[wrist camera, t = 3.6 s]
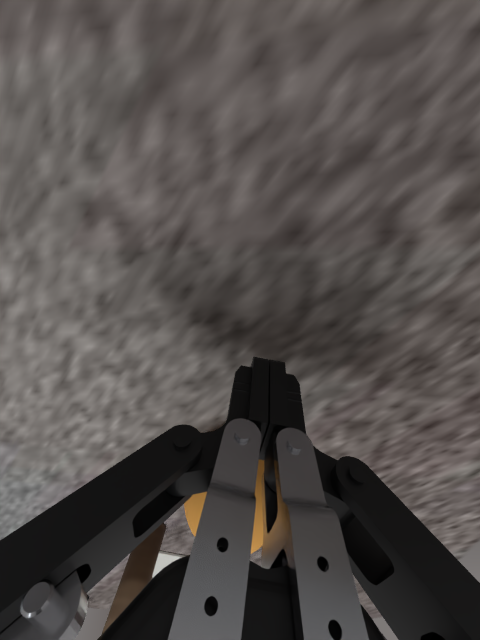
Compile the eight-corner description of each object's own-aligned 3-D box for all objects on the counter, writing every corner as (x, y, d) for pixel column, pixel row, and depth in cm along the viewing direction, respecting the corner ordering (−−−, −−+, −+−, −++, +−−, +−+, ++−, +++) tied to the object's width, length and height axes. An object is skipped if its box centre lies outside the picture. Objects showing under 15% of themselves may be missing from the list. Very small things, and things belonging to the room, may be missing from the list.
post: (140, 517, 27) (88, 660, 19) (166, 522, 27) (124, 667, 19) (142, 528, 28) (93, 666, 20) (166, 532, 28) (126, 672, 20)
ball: (200, 413, 17) (171, 519, 12) (289, 430, 17) (297, 543, 12) (194, 463, 20) (169, 563, 15) (270, 477, 20) (270, 582, 15)
